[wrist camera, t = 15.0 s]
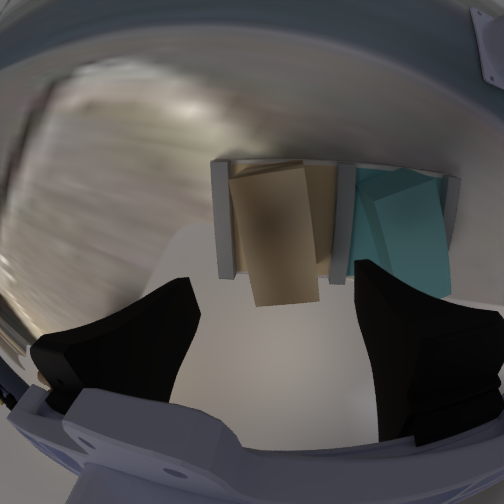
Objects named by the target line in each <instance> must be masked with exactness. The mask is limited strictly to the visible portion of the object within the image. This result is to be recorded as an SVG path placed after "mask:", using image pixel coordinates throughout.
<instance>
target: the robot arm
mask: <svg viewBox="0 0 504 504" xmlns="http://www.w3.org/2000/svg"><path fill="white" fill-rule="evenodd" d="M470 14H471V17H472V21H473V25H474V29H475V34H476V38H477V43H478V49H479V54H480V61H481V68H482V76H483V79H484V80H485V82H487V83H489V84H491V85H493V86H496V87H498V88H500V89H502V90H504V15H503V16H501V17H498V18H496V19H495V18H493V17H491V16H489V15H488V14H486V13H484V12H482V11H480V10H478V9H476V8H474V7H471V8H470ZM490 77H491V78H490ZM491 79H492V80H491ZM354 288H355V289H354V302H355V308H356V314H357V318H358V323H359V326H360V329H361V332H362V336H363V339H364V342H365V345H366V349H367V352H368V356H369V359H370V362H371V367H372V372H373V379H374V386H375V394H376V403H377V416H378V432H379V443H373V444H367V445H360V446H352V447H344V448H334V449H321V450H300V451H268V450H267V451H266V450H256V449H251V448H245V447H242V446H241V444H240V442H239V440H238V438H237V436H236V435H235V434H234V433H233V432H232V430H230V429H229V428H228V427H227V426H226V425H225V424H224V423H223V422H222V421H221V420H219V419H217V418H215V417H213V416H211V415H209V414H207V413H205V412H203V411H201V410H198V409H194V408H190V407H186V406H182V405H178V404H172V403H169V400H170V395H171V392H172V389H173V386H174V382H175V379H176V376H177V373H178V371H179V368H180V366H181V364H182V362H183V360H184V357H185V355H186V353H187V351H188V349H189V347H190V344H191V342H192V340H193V338H194V336H195V333H196V331H197V327H198V324H199V320H200V316H201V312H200V309H199V306H198V303H197V300H196V297H195V294H194V291H193V288H192V285H191V282H190V279H189V277H184V278H176V279H174V280H172V281H170V282H168V283H166V284H164V285H163V286H161V287H159V288H158V289H156V290H154V291H153V292H151V293H150V294H148V295H146V296H145V297H143V298H141V299H140V300H138V301H136V302H135V303H133V304H131V305H129V306H128V307H126V308H124V309H122V310H120V311H118V312H116V313H114V314H112V315H110V316H108V317H105V318H103V319H100V320H98V321H95V322H92V323H90V324H87V325H84V326H81V327H77V328H74V329H70V330H66V331H61V332H56V333H50V334H44V335H42V336H41V337H40V338H39V339H38V340H37V341H36V342H35V343H34V344H33V345H32V346H31V347H30V355H31V358H32V360H33V362H34V364H35V365H36V367H37V369H38V370H39V371H40V373H41V374H42V375H43V377H44V378H45V379H46V381H47V382H48V383H49V385H50V386H51V387H52V388H53V390H52V391H51V392H50V393H49V392H47V391H46V390H45V389H43V388H41V387H38V386H36V385H34V384H32V385H31V386H30V388H29V389H28V390H27V391H26V393H25V394H24V395H23V397H22V398H21V399H20V400H19V402H18V403H17V404H16V406H15V407H14V408H13V410H12V411H11V412H10V414H9V415H8V416H7V420H8V421H9V422H10V423H11V424H12V425H13V426H14V427H15V428H16V429H17V430H18V431H19V432H20V433H21V434H22V435H23V436H24V437H25V438H26V439H27V440H28V441H29V442H31V443H32V444H33V445H34V446H35V447H36V448H37V449H38V450H40V451H41V452H42V453H44V454H45V455H46V456H48V457H49V458H51V459H52V460H54V461H55V462H57V463H58V464H60V465H61V466H63V467H64V468H66V469H67V470H69V471H71V472H72V473H74V474H76V475H77V476H79V478H78V480H77V482H76V484H75V485H74V488H73V489H72V491H71V493H70V495H69V497H68V499H67V501H66V503H65V504H455V503H457V502H459V501H462V500H464V499H466V498H468V497H470V496H472V495H474V494H476V493H478V492H480V491H482V490H484V489H486V488H488V487H490V486H492V485H493V484H495V483H497V482H499V481H500V480H502V479H504V394H503V395H502V396H501V394H500V391H499V389H498V388H499V387H500V386H501V380H500V378H499V376H498V373H499V371H500V369H501V367H502V365H503V363H504V319H503V317H502V316H501V315H500V314H499V312H498V311H491V310H483V309H475V308H470V307H466V306H461V305H457V304H454V303H450V302H447V301H444V300H441V299H438V298H435V297H433V296H430V295H428V294H426V293H424V292H421V291H419V290H417V289H415V288H413V287H411V286H410V285H408V284H406V283H404V282H403V281H401V280H399V279H398V278H396V277H394V276H393V275H391V274H390V273H388V272H387V271H386V270H384V269H383V268H381V267H380V266H378V265H377V264H376V263H374V262H373V261H371V260H369V259H361V260H354Z"/></svg>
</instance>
